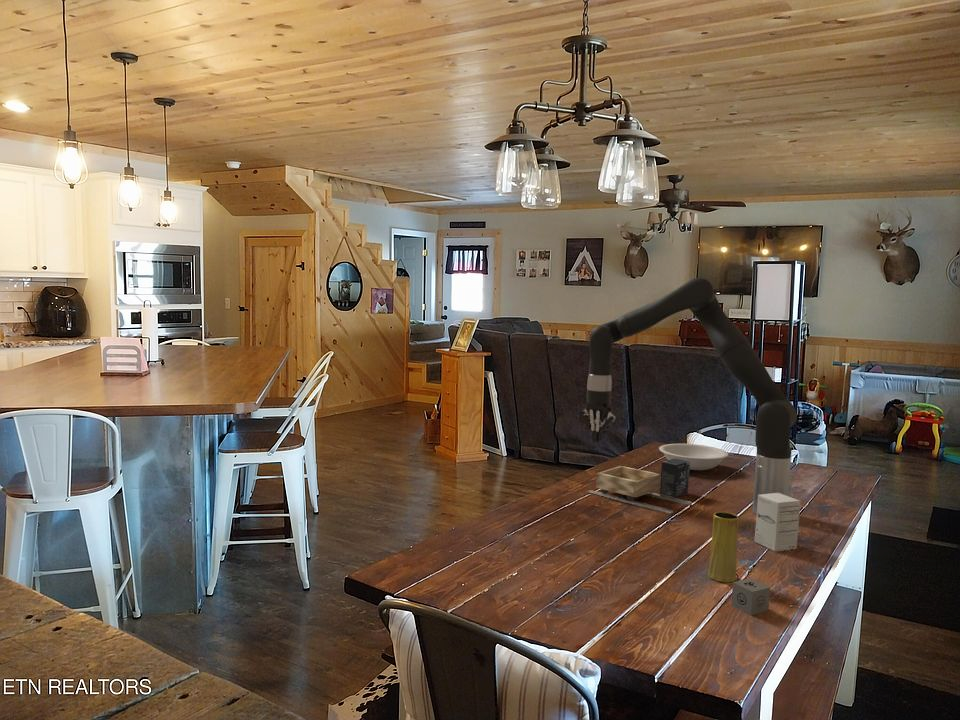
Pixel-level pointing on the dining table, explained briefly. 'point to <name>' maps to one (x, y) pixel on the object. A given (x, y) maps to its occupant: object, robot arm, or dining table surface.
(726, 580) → the vase
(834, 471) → the dining table surface
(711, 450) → the soup bowl
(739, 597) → the grey cube
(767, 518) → the supplement box
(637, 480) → the light wooden open box
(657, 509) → the rails
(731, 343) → the robot arm
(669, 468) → the box
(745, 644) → the dining table surface
